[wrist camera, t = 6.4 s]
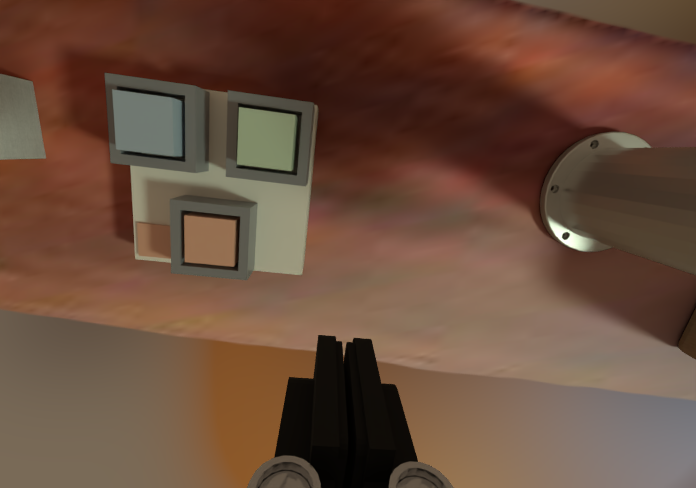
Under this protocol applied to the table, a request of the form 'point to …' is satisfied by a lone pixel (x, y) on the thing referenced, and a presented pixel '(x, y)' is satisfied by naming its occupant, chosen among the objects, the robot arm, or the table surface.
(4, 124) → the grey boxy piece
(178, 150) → the slate button
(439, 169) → the table surface
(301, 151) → the button panel
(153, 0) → the table surface
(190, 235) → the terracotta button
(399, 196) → the table surface
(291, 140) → the sage button
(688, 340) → the wooden block
